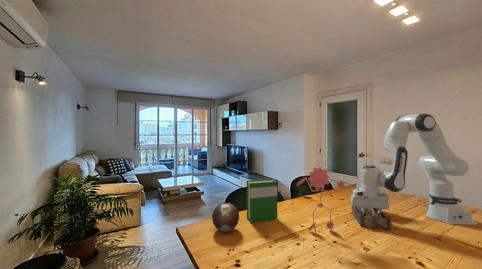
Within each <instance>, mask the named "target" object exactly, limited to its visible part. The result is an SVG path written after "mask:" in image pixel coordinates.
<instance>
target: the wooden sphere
mask: <svg viewBox="0 0 482 269" xmlns="http://www.w3.org/2000/svg"><path fill="white" fill-rule="evenodd" d="M211 216H212V217H211V222H212V223H213V226H214V227H215V228H216V229H217V230H219V231H220V232H230V231H232V230H234V229H235V228H236V227H237V225H238V224H239V222H240V213H239V210H238V208H237V207H236V206H235V205H234V204H233V203H231V202H221V203H219V204H218V205H217V206H216V207H215V208H214V209H213V211H212V215H211Z"/></svg>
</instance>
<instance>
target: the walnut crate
mask: <svg viewBox="0 0 482 269" xmlns="http://www.w3.org/2000/svg"><path fill="white" fill-rule="evenodd" d="M361 208H362V207H360V211H361ZM370 209H373V210H374V211H375V212H378V211H379V209H374V208H370ZM351 214H352V216H353V217H354V219H355V221H356V222H357V223H358V225H359V226H360V227H361V228H368V229H377V230H378V229H379V230H386V229H387V231H391V216H388V215H386V213H385V212H384V211H382V212H381V213H380V216H379V218H378V217H367V216H364V215H363V214H360V213H359V210H358V208H357V207H353V206H352V205H351Z"/></svg>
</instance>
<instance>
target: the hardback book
mask: <svg viewBox="0 0 482 269" xmlns="http://www.w3.org/2000/svg"><path fill="white" fill-rule="evenodd" d="M246 219H247V220H249V223H250V224H254V223H262V222H271V221H278V181H277V180H276V179H273V178H269V179H265V178H264V179H251V180H246Z"/></svg>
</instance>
